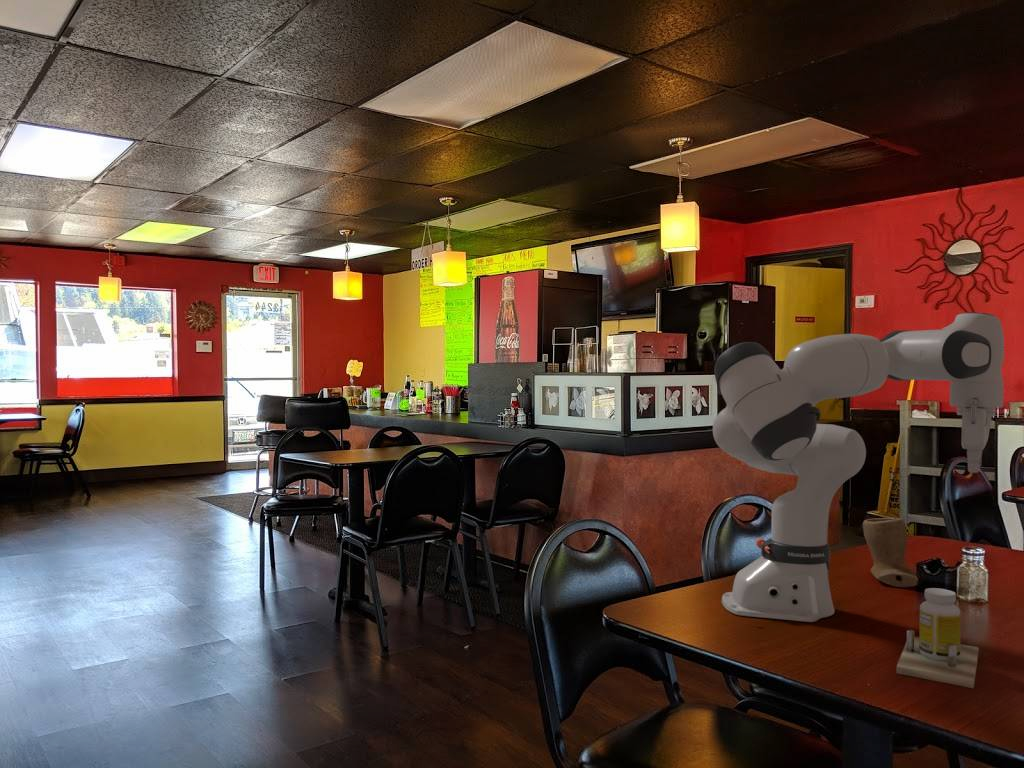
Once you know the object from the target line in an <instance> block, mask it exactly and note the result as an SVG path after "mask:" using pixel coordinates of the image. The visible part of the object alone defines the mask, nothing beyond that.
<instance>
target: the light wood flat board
mask: <svg viewBox="0 0 1024 768" xmlns="http://www.w3.org/2000/svg"><path fill="white" fill-rule="evenodd" d="M906 644H907V641H905V645H904V647H903V650H902V652H901V654H900V657H899V659H898V662H897V665H896V669H895V670H896V674H897V675H904V676H909V677H913V678H919V679H924V680H928V681H934V682H938V683H945V684H949V685H954V686H959V687H960V686H961V687H965V688H969V689H970V688H971V689H974V688H975V682H976V681H975V680H976V674H977V666H978V659H979V647H978V646H972V645H967V644H966V645H965V644H961V643H960V658H959V659H958V660H956V667H949V666H948V661H939V660H934V659H930V658H928V657H925V656H923V655H922V654H921V653H920V650H919V636H915V635H914V652H907V651H906Z"/></svg>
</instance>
